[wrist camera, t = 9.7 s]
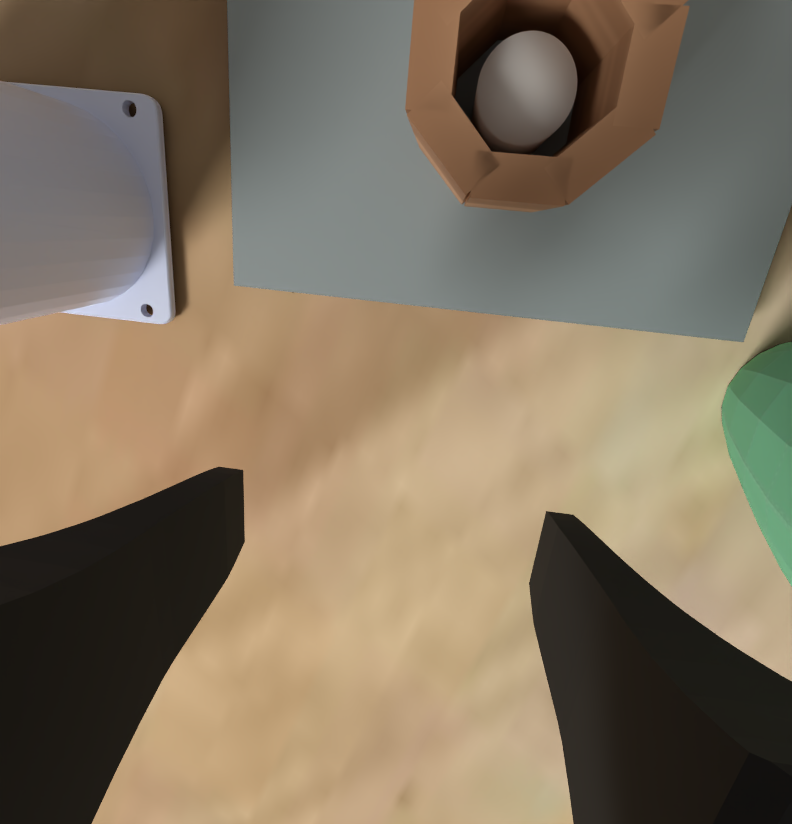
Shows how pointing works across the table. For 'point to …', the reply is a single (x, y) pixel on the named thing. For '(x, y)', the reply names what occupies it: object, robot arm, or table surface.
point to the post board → (500, 259)
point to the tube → (593, 107)
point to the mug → (764, 444)
